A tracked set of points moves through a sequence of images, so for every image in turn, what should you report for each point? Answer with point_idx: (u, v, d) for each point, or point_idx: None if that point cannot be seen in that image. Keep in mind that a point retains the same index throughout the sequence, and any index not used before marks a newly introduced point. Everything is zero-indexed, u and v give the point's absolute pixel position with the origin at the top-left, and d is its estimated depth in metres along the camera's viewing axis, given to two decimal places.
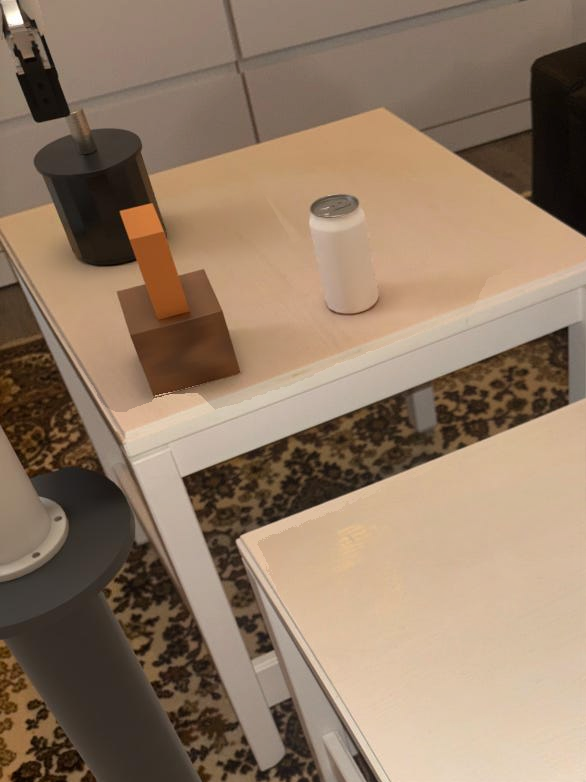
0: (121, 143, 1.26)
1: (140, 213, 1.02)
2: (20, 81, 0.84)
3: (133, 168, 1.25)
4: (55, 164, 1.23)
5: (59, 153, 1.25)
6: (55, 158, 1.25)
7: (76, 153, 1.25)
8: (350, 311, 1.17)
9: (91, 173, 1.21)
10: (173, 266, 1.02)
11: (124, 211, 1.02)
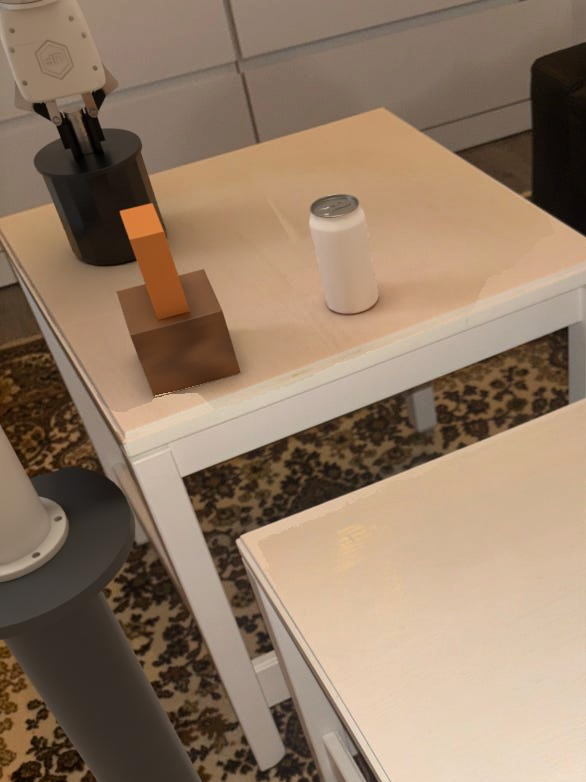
0: (121, 143, 1.26)
1: (140, 213, 1.02)
2: (93, 123, 1.22)
3: (133, 168, 1.25)
4: (55, 164, 1.23)
5: (59, 153, 1.25)
6: (55, 158, 1.25)
7: None
8: (350, 311, 1.17)
9: (91, 173, 1.21)
10: (173, 266, 1.02)
11: (124, 211, 1.02)
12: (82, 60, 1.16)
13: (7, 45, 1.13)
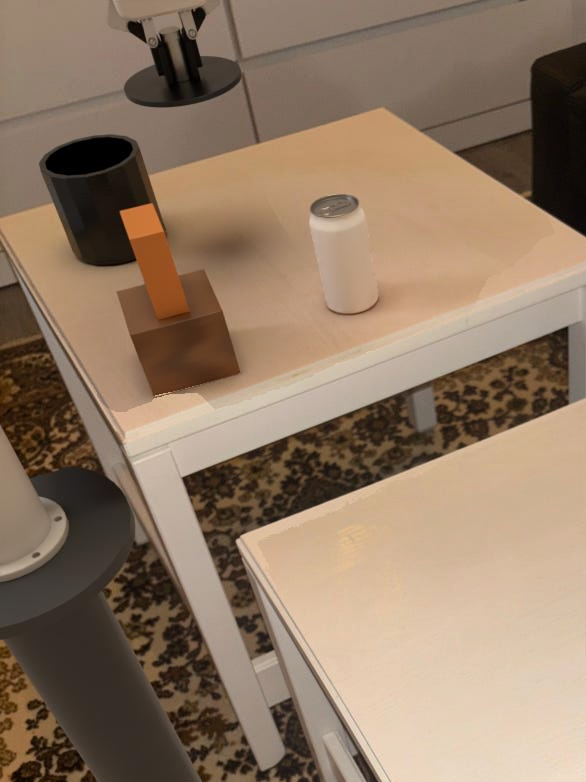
0: (219, 70, 1.15)
1: (140, 213, 1.02)
2: (191, 46, 1.11)
3: (133, 168, 1.25)
4: (149, 92, 1.12)
5: (151, 81, 1.14)
6: (148, 86, 1.13)
7: None
8: (350, 311, 1.17)
9: (190, 100, 1.10)
10: (173, 266, 1.02)
11: (124, 211, 1.02)
12: None
13: None
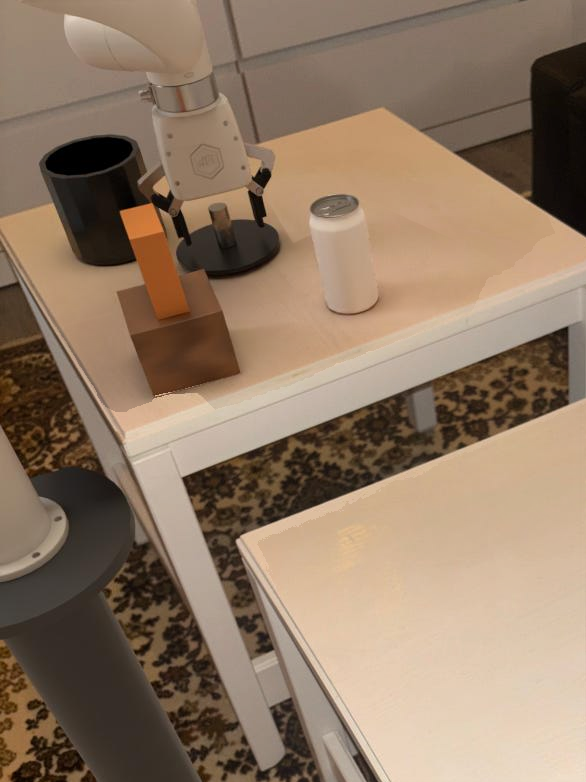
0: (259, 236, 1.30)
1: (140, 213, 1.02)
2: (258, 201, 1.26)
3: (133, 168, 1.25)
4: (198, 258, 1.27)
5: (200, 246, 1.29)
6: (197, 252, 1.29)
7: (217, 247, 1.29)
8: (350, 311, 1.17)
9: (236, 269, 1.25)
10: (173, 266, 1.02)
11: (124, 211, 1.02)
12: (232, 161, 1.20)
13: (164, 149, 1.16)
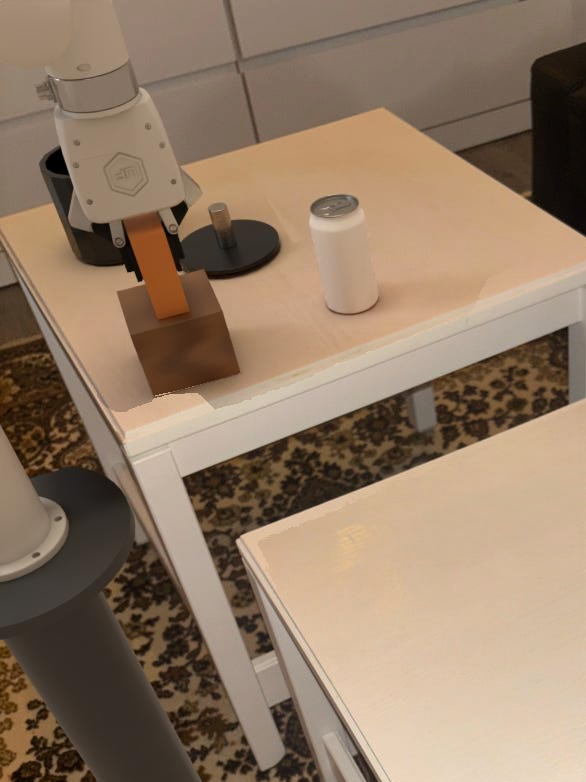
0: (259, 236, 1.30)
1: None
2: (173, 240, 1.02)
3: None
4: (198, 258, 1.27)
5: (200, 246, 1.29)
6: (197, 252, 1.29)
7: (217, 247, 1.29)
8: (350, 311, 1.17)
9: (236, 269, 1.25)
10: (173, 266, 1.02)
11: None
12: (159, 173, 0.96)
13: (70, 159, 0.92)
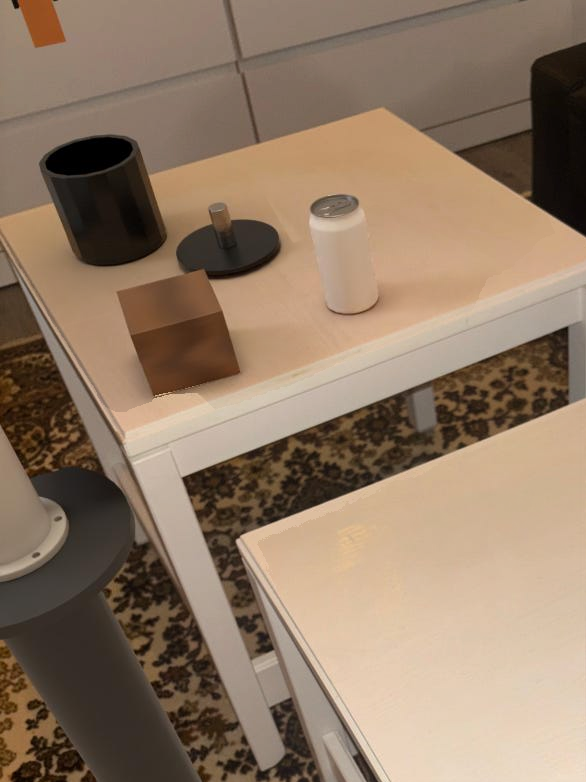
0: (259, 236, 1.30)
1: None
2: None
3: (133, 168, 1.25)
4: (198, 258, 1.27)
5: (200, 246, 1.29)
6: (197, 252, 1.29)
7: (217, 247, 1.29)
8: (350, 311, 1.17)
9: (236, 269, 1.25)
10: None
11: None
12: None
13: None
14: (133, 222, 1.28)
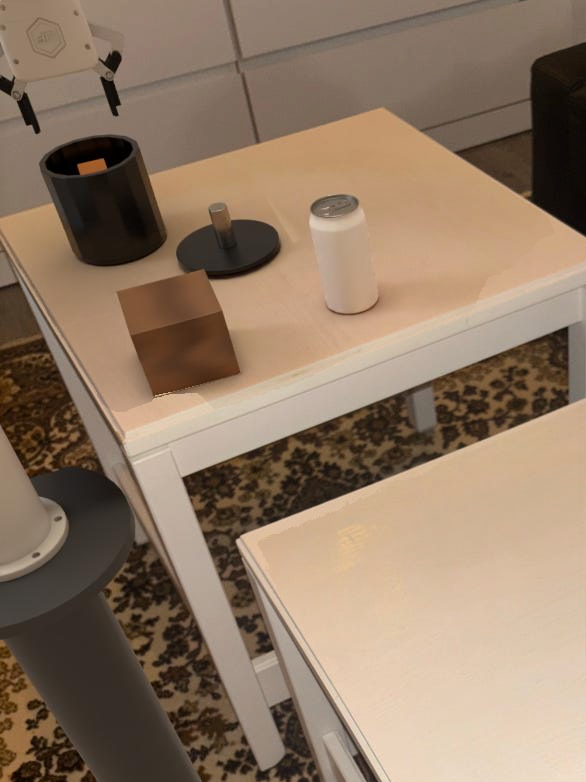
0: (259, 236, 1.30)
1: (93, 166, 1.29)
2: (109, 86, 1.20)
3: (133, 168, 1.25)
4: (198, 258, 1.27)
5: (200, 246, 1.29)
6: (197, 252, 1.29)
7: (217, 247, 1.29)
8: (350, 311, 1.17)
9: (236, 269, 1.25)
10: None
11: (81, 165, 1.29)
12: (74, 39, 1.14)
13: None
14: (133, 222, 1.28)
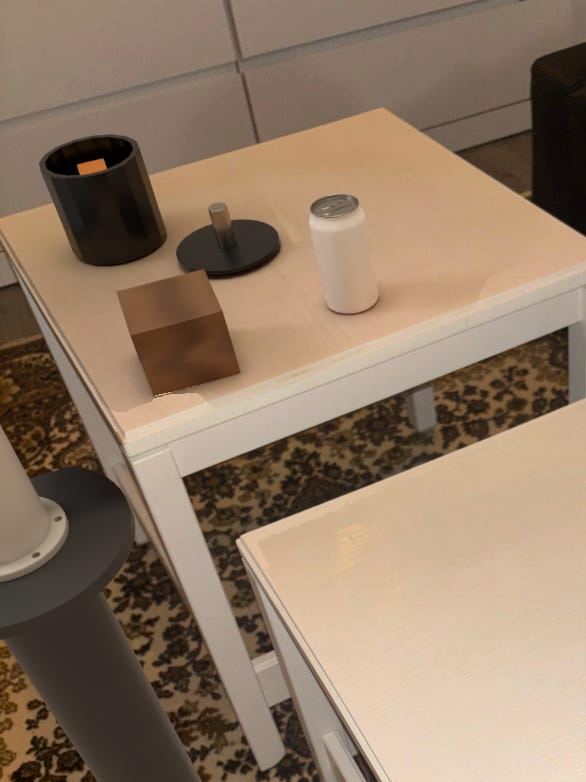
0: (259, 236, 1.30)
1: (93, 166, 1.29)
2: None
3: (133, 168, 1.25)
4: (198, 258, 1.27)
5: (200, 246, 1.29)
6: (197, 252, 1.29)
7: (217, 247, 1.29)
8: (350, 311, 1.17)
9: (236, 269, 1.25)
10: None
11: (81, 165, 1.29)
12: None
13: None
14: (133, 222, 1.28)
